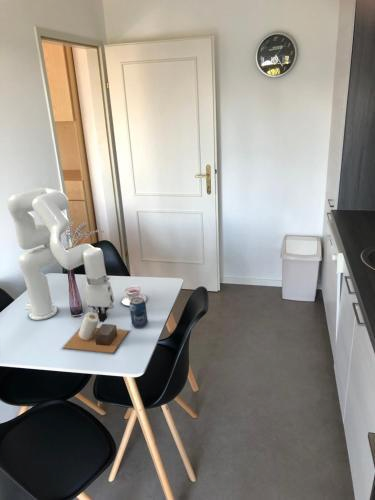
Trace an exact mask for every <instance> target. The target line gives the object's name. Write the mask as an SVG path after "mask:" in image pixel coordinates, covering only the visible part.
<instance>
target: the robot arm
mask: <svg viewBox="0 0 375 500" xmlns="http://www.w3.org/2000/svg"><path fill="white" fill-rule="evenodd" d="M69 205H70V202H69V199H68V197H67V195H66V194H65V193H64V192H63V191H62V190H59V189H55V188H50V187H39V188H38V187H37V188H34V189H31V190H26V191H22V192H18V193H15V194H13V195H11V196H10V197H9V198H8V199H7V209H8V212H9V214H10V215H11V218H12V220H13V224H14V228H15V234H16V239H17V242H18V245H19V247H20V249H22V250H25V251H26V252H24V253H22V254H21V255H19V257H18V260H17V261H18V265H19V268H20V271H21V272H22V275H23V279H24V282H25V286H26V291H27V295H28V300H29V303H25V307H24V310H25V311H29V312H28V316H29V319H31V320H34V321H42V320H46V319H49V318H51V317H53V316H55V315H56V314H57V313H58V308H57V306H56V305H53V300H52V296H51V292H50V291H51V290H50V285H49V281H48V277H47V275H46V274H45V273H43V272H42V271H41V270H43V269H45V268H47V267H49V266H51V265H54V264H55V263H56V262H58V263H59V265H61V267H62V268H63V269H66V270H74V269H76V268H78V267H80V266H83V265H84V271H85V277H86V283H85V300H86V303H87V306H88V308H91V309H92V310H93V309H94V310H96V313H98V318H99V321H98V322H99V323H104V322H105V321H106V320H107V319H108V313H106V311H107V310H108V311H109V310H113V309H114V307H115V306H114V302H115V295H114V292H113V288H112V285H111V282H110V277H109V276H107V271H106V265H105V259H104V252H103V250H102V249H101V248H100V247H94V246H93V245H92V244H90V243H84V242H83V243H81V244H78V245H76V246H73V247H71V248H68V249H65V248H64V246H63V245H62V243H61V240H60V237H61V236H62V235H63V233H65V232H66V231H67V230H68V228H69V227H70V220H69V219H68V217H67V216H66V215H65V213H64V212H63V211H65V210H67V209H68V208H69ZM33 211H34V212H35V213H36V215H37V216H38V217H39V219H40V220H41V222H40V223H36V219H35V216H34V215H33V214H32V212H33ZM101 307H102V308H101Z"/></svg>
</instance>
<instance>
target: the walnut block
mask: <svg viewBox="0 0 375 500" xmlns="http://www.w3.org/2000/svg"><path fill="white" fill-rule="evenodd" d="M98 328H99V329H98V330H97V331H96V333H95V334H94V335H95V341H96V345H105V346H110V345H111V343H112V342H113V341H114V339H115V338H116V336H117V330H118V329H117V324H112V323H102V324H101V325H100V326H99V327H98Z"/></svg>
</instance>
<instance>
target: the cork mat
mask: <svg viewBox="0 0 375 500" xmlns="http://www.w3.org/2000/svg"><path fill="white" fill-rule="evenodd" d="M99 328H100V327H96V330H95V333H96V331H97V330H98V329H99ZM79 331H80V328H79V329H78V330H77V331H76V332H75V334H74V335H73V336H72V337H71V338H70V340H68V341H67V342H66V343H65V345H64V346H63V347H62V348H63V349H66V350H74V351H82V352H83V351H84V352H95V353H103V354H115V352H116V351H117V349H118V348H119V346H120V344H121V343H122V342H123V340H124V339H125V338H126V336H127V334H128V333H129V330H124V329H122V330H121V329H117V336H116V338H115V339H114V341H113V342H112V343H111V345H110V346H105V345H96V341H95V335H93V338H92V339H91V340H84V339H82V338H80V336H79ZM95 333H94V334H95Z"/></svg>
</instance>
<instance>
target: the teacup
mask: <svg viewBox="0 0 375 500" xmlns="http://www.w3.org/2000/svg"><path fill="white" fill-rule="evenodd" d="M124 292H125V294H126V295H127V296H124V297H123V298H122V299H121V304H122V305H123V306H127V307H130V301H131V300H132V299H133V298H138V297H140V298H143V299H144V301H145V302H146V301H147V296H145V295H144V294H140V293H141V292H142V287H141V286H139V285H130V286H128V287H126V288H125V290H124Z"/></svg>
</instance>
